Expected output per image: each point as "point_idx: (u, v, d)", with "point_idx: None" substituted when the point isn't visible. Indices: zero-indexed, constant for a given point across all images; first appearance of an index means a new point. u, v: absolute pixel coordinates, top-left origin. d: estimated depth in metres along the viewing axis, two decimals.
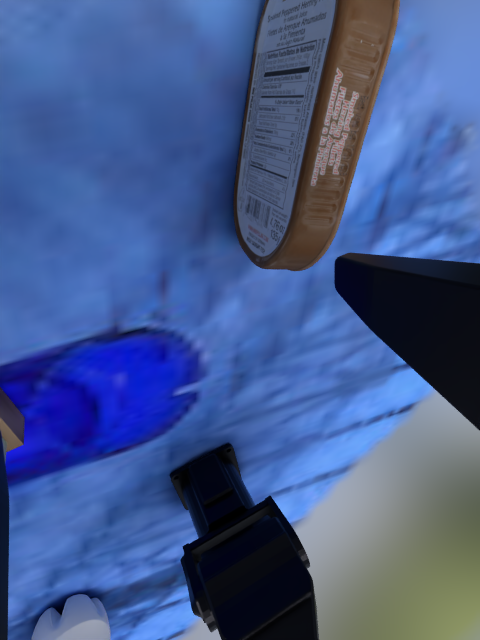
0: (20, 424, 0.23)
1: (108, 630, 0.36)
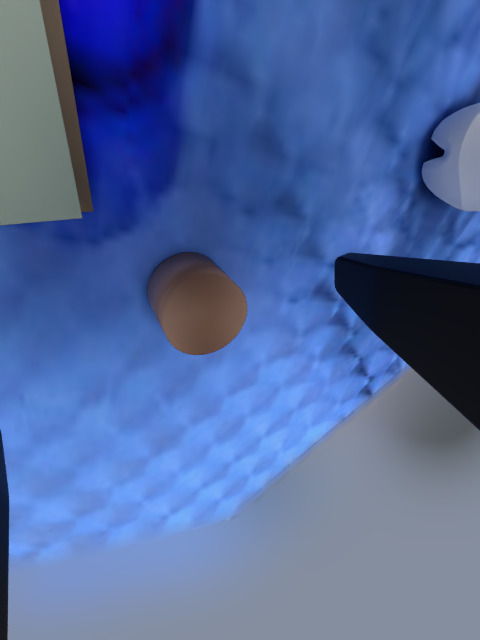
0: None
1: None
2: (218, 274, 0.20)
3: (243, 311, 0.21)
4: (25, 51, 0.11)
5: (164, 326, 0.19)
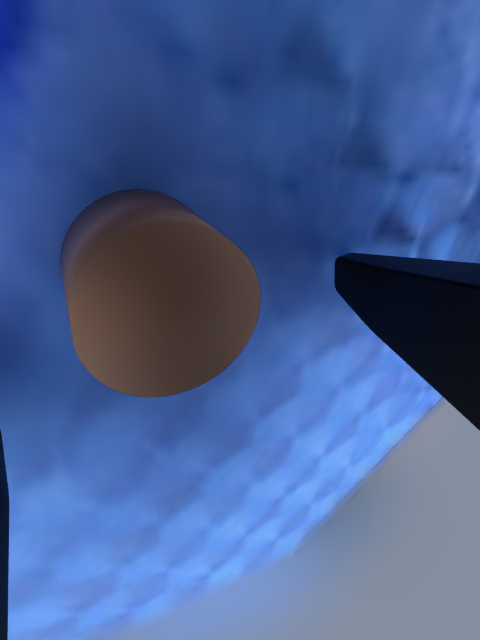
0: None
1: None
2: (177, 220, 0.09)
3: (253, 290, 0.10)
4: None
5: (81, 359, 0.09)
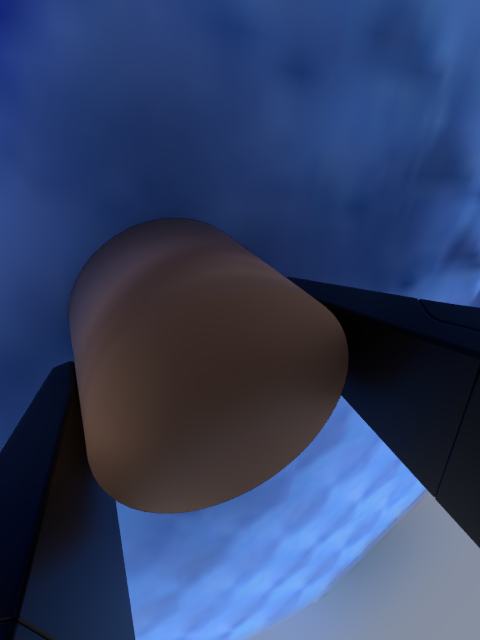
0: None
1: None
2: (244, 276, 0.06)
3: (340, 363, 0.07)
4: None
5: (101, 482, 0.06)
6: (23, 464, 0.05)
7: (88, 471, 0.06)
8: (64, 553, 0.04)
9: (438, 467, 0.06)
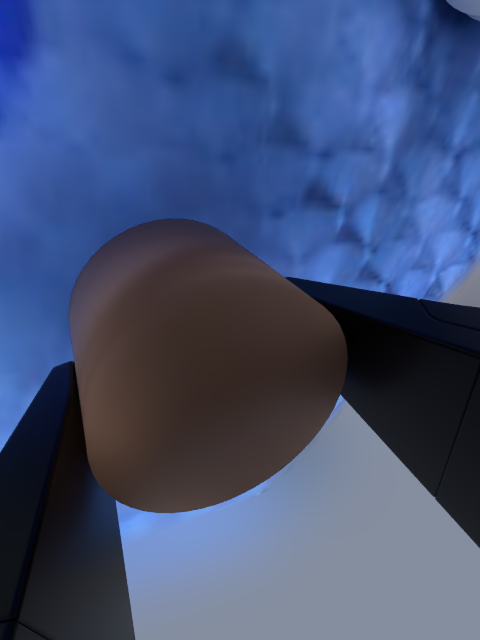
0: None
1: None
2: (243, 276, 0.06)
3: (338, 363, 0.07)
4: None
5: (101, 482, 0.06)
6: (23, 464, 0.05)
7: (88, 471, 0.06)
8: (64, 553, 0.04)
9: (438, 467, 0.06)
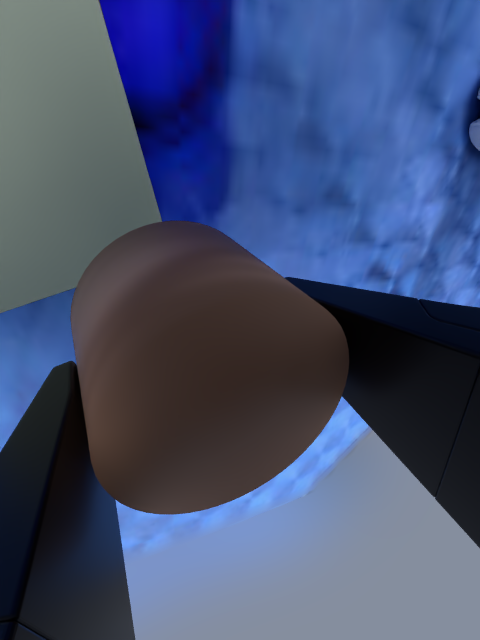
0: None
1: None
2: (246, 279, 0.06)
3: (340, 365, 0.07)
4: (111, 120, 0.11)
5: (104, 484, 0.06)
6: (23, 464, 0.05)
7: (88, 471, 0.06)
8: (64, 553, 0.04)
9: (438, 467, 0.06)
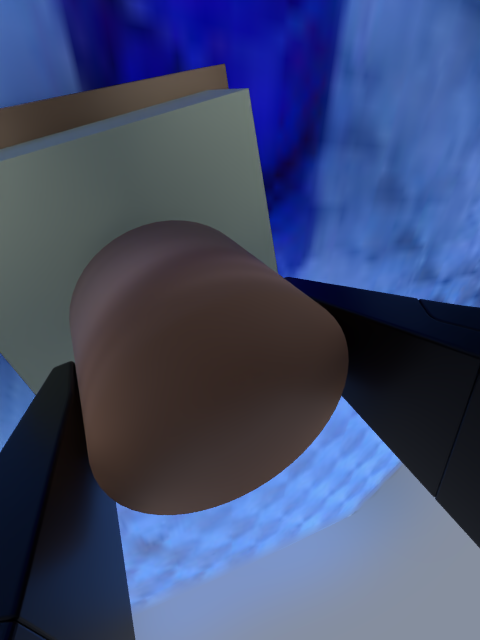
0: (198, 68, 0.13)
1: None
2: (244, 279, 0.06)
3: (339, 365, 0.07)
4: (253, 233, 0.12)
5: (102, 484, 0.06)
6: (23, 464, 0.05)
7: (88, 471, 0.06)
8: (64, 553, 0.04)
9: (438, 467, 0.06)
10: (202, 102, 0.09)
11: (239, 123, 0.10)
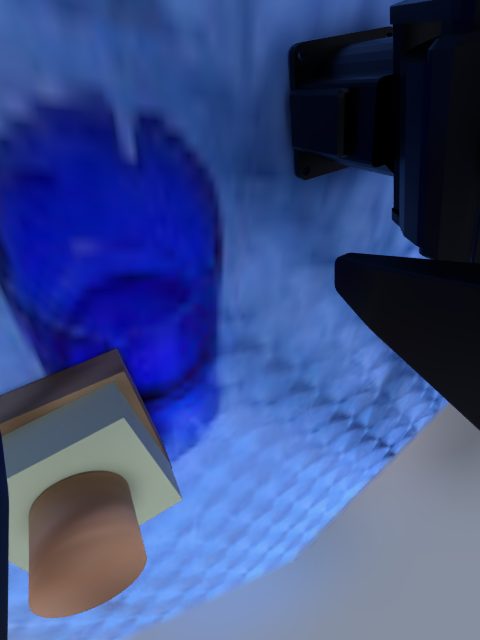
0: (112, 360, 0.21)
1: None
2: (84, 540, 0.16)
3: (138, 552, 0.17)
4: (142, 465, 0.20)
5: (37, 613, 0.16)
6: None
7: None
8: None
9: None
10: (97, 431, 0.17)
11: (121, 430, 0.18)
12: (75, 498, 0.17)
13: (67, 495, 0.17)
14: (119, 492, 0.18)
